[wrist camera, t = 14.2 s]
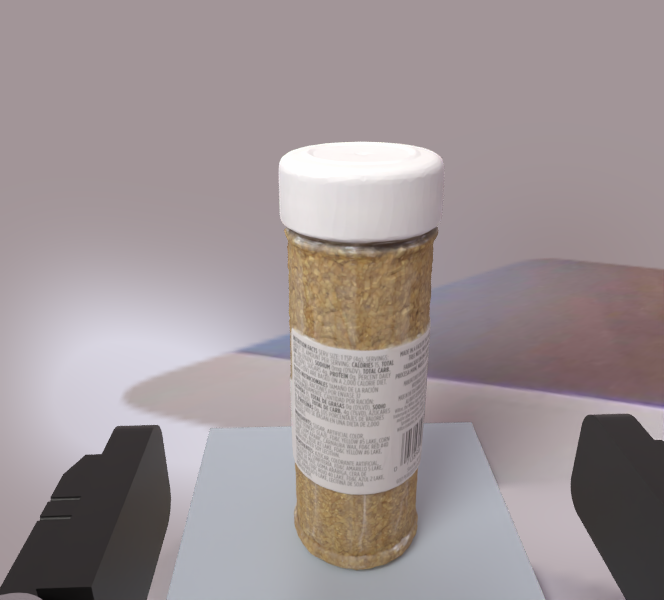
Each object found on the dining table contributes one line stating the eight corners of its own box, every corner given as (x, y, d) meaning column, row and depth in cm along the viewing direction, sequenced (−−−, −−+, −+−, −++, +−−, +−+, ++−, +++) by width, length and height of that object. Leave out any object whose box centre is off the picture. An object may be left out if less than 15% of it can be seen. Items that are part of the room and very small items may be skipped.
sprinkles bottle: (343, 467, 25) (345, 133, 19) (441, 518, 22) (476, 147, 16) (266, 534, 21) (241, 153, 16) (370, 602, 19) (384, 175, 13)
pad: (144, 709, 16) (141, 695, 16) (211, 439, 27) (210, 428, 27) (575, 693, 17) (579, 680, 16) (470, 432, 28) (471, 422, 27)
